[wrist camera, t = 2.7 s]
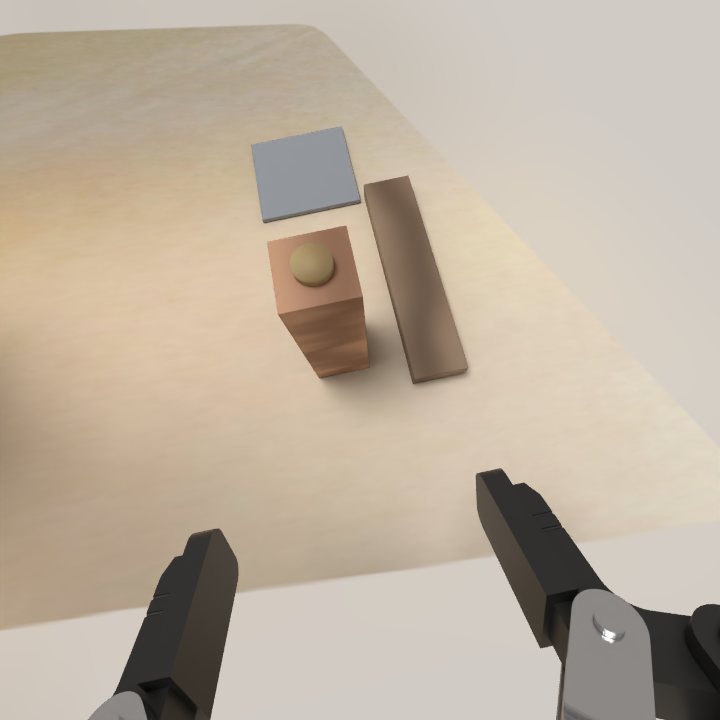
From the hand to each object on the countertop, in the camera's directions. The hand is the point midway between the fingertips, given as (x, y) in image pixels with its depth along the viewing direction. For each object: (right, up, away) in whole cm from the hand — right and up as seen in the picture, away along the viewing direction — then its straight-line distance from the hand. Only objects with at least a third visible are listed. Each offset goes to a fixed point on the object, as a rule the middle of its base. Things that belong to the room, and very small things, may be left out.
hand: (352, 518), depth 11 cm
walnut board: (+4, +12, +19) cm, 23 cm away
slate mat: (-5, +23, +23) cm, 32 cm away
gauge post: (-1, +6, +17) cm, 18 cm away
